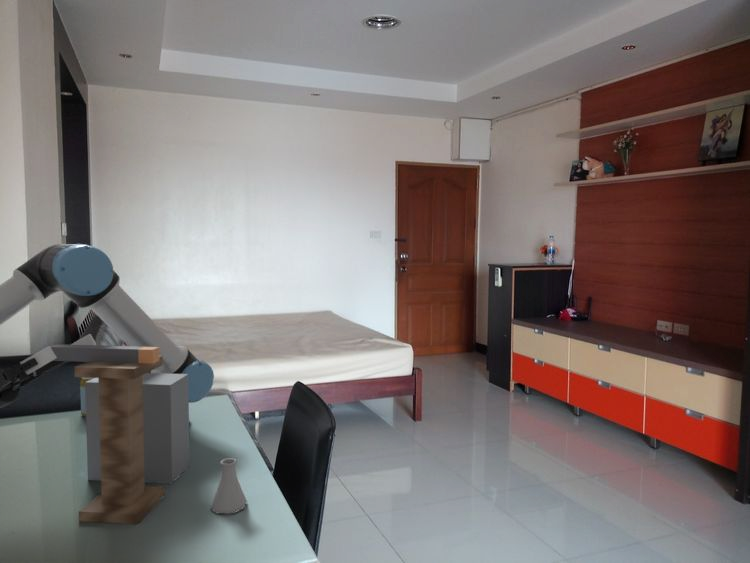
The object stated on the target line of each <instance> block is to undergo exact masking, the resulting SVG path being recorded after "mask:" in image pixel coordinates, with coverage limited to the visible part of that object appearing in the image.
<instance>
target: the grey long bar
mask: <svg viewBox="0 0 750 563" xmlns="http://www.w3.org/2000/svg"><path fill="white" fill-rule="evenodd" d="M49 346H50V347H51V349H52V350H53V352H54V354H55V355H56V357H57V358H56V359H54V360H53V361H69V362H84V363H86V362H114V363H149V364H153V363H155V362H158V361H159V347H137V346H128V345H124V346H123V345H71V344H61V343H60V344H58V343H57V344H53V345H49Z"/></svg>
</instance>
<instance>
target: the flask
mask: <svg viewBox="0 0 750 563" xmlns="http://www.w3.org/2000/svg"><path fill="white" fill-rule="evenodd" d="M219 463H220V466H221V474H220V481H219V483H218V486H217V489H216V492H215V494H214V498H213V500H212V503H211V506H210V509H212V510H214V511H215V512H214V511H213V512H214V513H216V512H218V513H234V514H236V513H235V512H236V511H238V510H241V509H242V508H244V506H245V504H246V502H247V503H248V501H247V498H246V495H245V494H244V491H243V490H242V486H241V485H240V482H239V479H238V475H237V471H236V470H237V469H236V464H237V459H235V458H232V457H231V458H230V457H228V458H224V459H222V460H221V461H220V462H219ZM246 505H247V504H246ZM245 507H246V506H245ZM244 509H245V508H244ZM212 510H211V511H212ZM241 511H242V510H241ZM218 513H217V514H218Z"/></svg>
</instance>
